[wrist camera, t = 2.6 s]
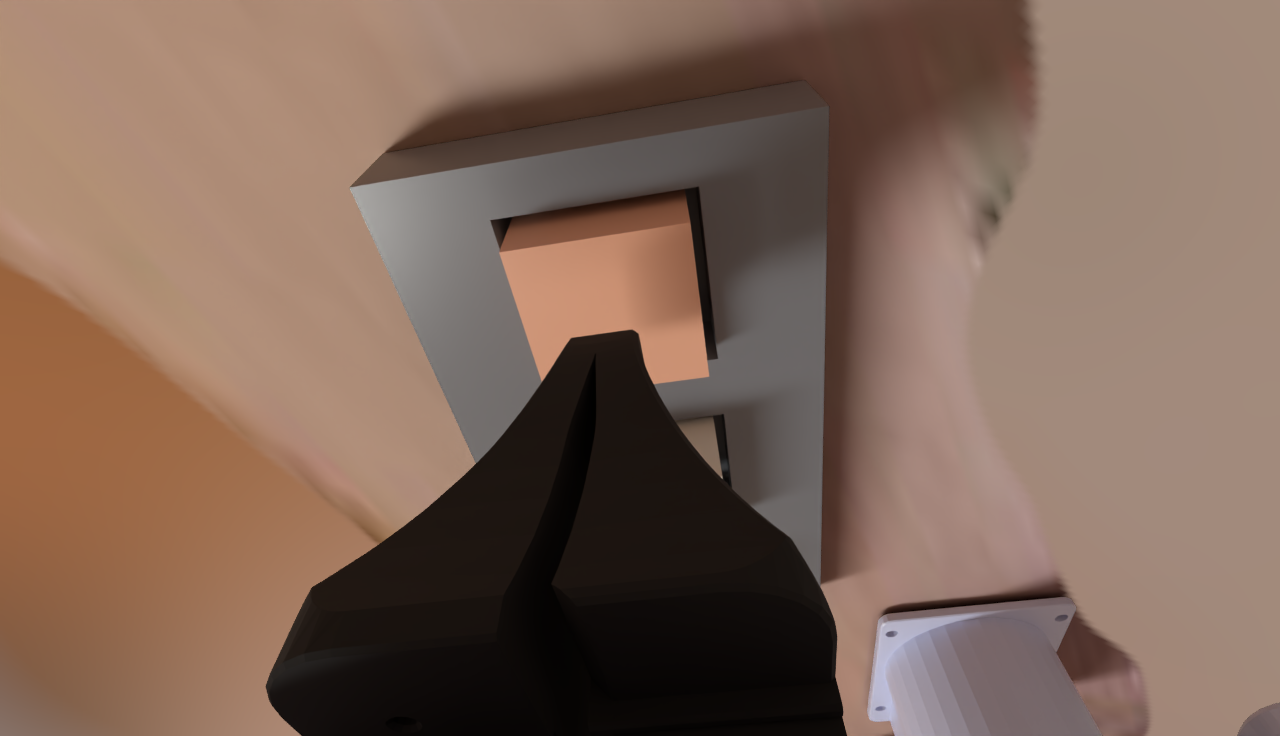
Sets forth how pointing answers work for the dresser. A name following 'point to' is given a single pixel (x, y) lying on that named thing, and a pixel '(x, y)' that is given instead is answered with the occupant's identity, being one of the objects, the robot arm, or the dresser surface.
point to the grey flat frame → (724, 256)
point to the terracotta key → (610, 280)
